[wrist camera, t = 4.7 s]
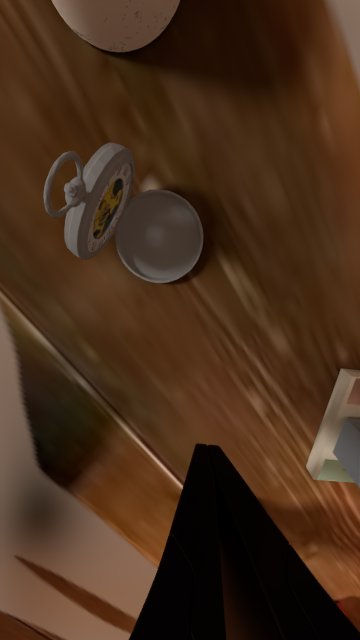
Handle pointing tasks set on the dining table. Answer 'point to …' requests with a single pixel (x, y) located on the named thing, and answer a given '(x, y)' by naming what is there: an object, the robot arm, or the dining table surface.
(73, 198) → the pocket watch
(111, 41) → the teacup with lid
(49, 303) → the dining table surface
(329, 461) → the cream flat rectangular block
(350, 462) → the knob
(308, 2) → the dining table surface
